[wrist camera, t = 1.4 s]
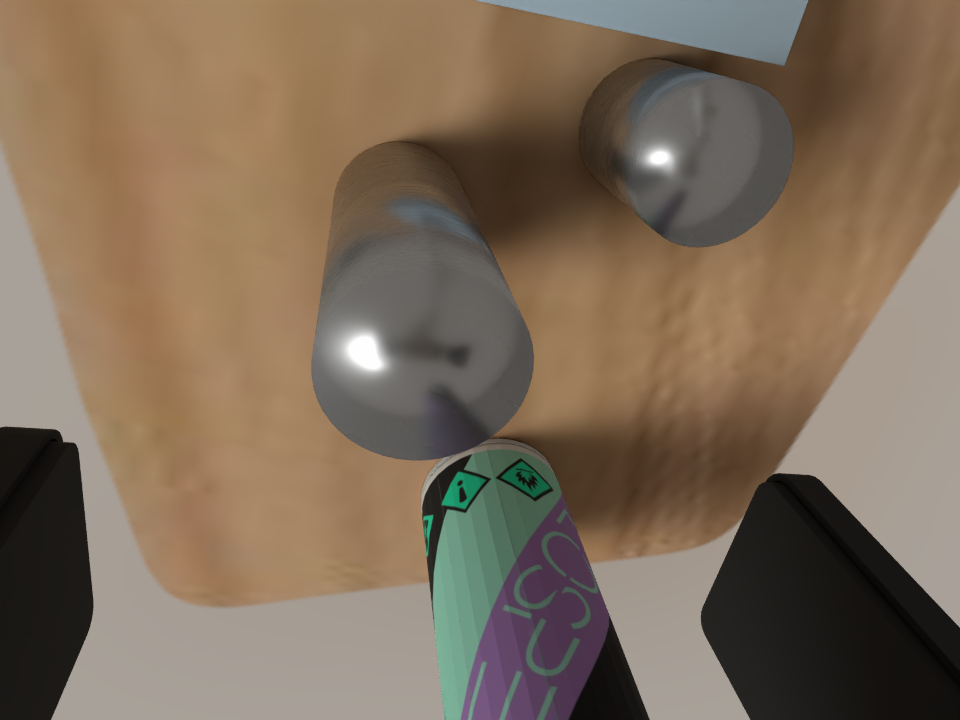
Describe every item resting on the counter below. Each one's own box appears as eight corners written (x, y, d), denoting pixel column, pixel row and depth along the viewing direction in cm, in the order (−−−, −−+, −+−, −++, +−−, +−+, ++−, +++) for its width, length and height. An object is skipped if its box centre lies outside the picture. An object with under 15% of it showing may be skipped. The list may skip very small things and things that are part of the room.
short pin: (598, 46, 19) (665, 65, 15) (723, 72, 20) (820, 97, 16) (565, 183, 21) (615, 236, 17) (680, 202, 22) (756, 256, 18)
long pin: (339, 131, 19) (320, 253, 11) (475, 153, 20) (556, 282, 12) (328, 261, 21) (304, 453, 13) (452, 276, 22) (508, 466, 14)
